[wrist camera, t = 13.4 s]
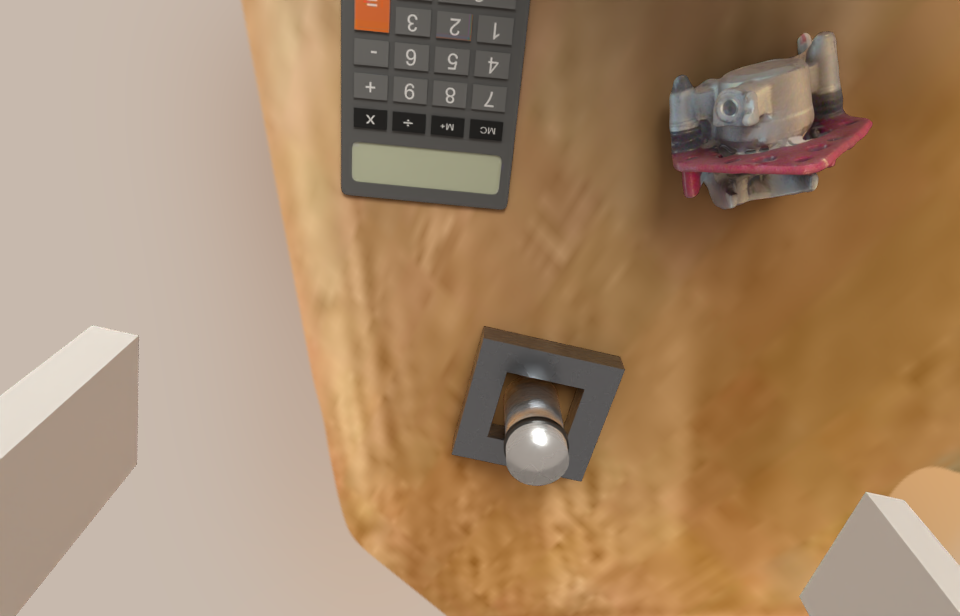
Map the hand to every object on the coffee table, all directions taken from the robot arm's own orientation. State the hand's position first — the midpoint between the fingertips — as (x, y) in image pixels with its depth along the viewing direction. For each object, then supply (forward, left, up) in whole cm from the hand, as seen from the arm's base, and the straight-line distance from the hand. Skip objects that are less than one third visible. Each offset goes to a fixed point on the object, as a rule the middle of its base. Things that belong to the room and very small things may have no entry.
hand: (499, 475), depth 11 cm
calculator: (-2, -5, -35) cm, 36 cm away
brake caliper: (-5, +15, -35) cm, 39 cm away
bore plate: (+20, +8, -35) cm, 41 cm away
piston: (+19, +8, -35) cm, 41 cm away
